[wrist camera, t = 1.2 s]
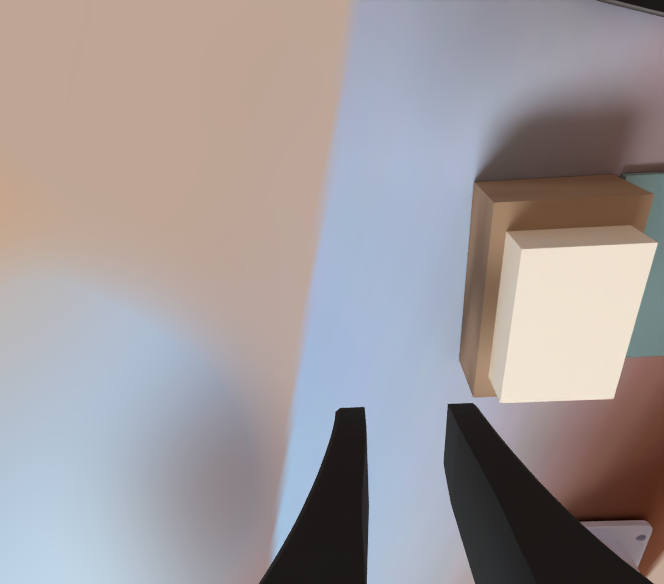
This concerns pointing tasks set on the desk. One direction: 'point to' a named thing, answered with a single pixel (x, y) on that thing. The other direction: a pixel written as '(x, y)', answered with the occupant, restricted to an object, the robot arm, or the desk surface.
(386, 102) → the desk surface
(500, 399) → the cream rectangular block
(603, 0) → the phone
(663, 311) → the mat
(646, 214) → the block
